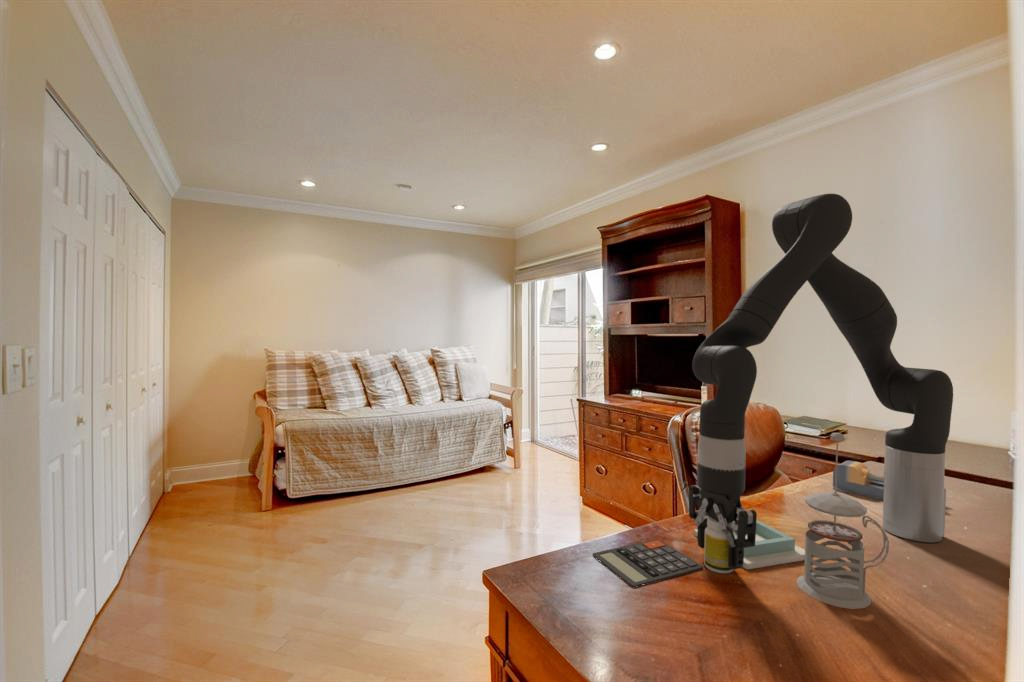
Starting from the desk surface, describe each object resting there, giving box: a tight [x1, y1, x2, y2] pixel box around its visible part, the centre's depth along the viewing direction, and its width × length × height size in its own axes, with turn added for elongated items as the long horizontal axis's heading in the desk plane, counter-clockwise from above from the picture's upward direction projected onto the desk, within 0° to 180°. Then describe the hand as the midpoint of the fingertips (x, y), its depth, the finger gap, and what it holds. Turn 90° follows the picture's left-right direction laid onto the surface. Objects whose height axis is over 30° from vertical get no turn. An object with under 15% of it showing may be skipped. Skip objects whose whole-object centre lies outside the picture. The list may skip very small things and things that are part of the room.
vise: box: [832, 460, 884, 501], centre depth 117 cm, size 18×10×7 cm, turn 39°
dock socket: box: [693, 518, 805, 570], centre depth 90 cm, size 14×14×3 cm
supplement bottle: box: [703, 516, 735, 574], centre depth 82 cm, size 5×5×8 cm
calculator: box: [592, 538, 704, 588], centre depth 84 cm, size 12×1×15 cm
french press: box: [796, 432, 890, 610], centre depth 74 cm, size 10×12×25 cm
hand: (718, 556), depth 82 cm, fingers open, 7 cm apart
